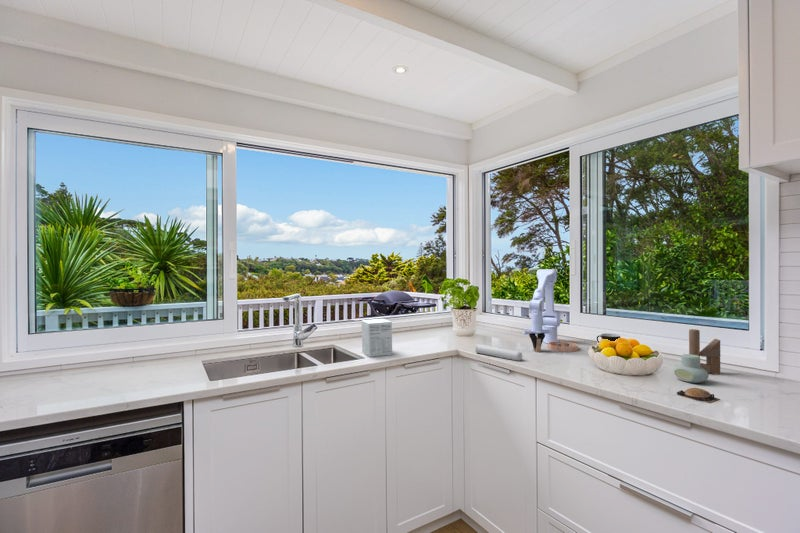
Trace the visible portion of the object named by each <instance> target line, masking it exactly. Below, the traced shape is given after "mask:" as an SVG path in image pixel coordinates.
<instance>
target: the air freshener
mask: <svg viewBox="0 0 800 533" xmlns="http://www.w3.org/2000/svg"><path fill="white" fill-rule="evenodd" d="M700 363H701V356H700V357H699V356H697V355H692V354H689V353H683V354H681V364H680V365H677V366H675V368H674V370H673V374H674V375H675V377H677V379H679V380H680V381H682V382H685V383H689V384H690V383H691V384H692V383H693V384H698V383H699V384H700V383H703V382H705V381H708V379H709V374H708V372H707V371H706V370H705V369H703V368H701V367H700Z"/></svg>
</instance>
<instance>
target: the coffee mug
mask: <svg viewBox="0 0 800 533" xmlns="http://www.w3.org/2000/svg"><path fill="white" fill-rule="evenodd" d="M599 337H601V340H602V339H608V340H610V341H615V340H616V339H618V338H620V339H621V334H616V333H601V334H600V335H597V336H596V341H597V342H598V344H599V342H600V341H599Z"/></svg>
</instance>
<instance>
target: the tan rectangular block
mask: <svg viewBox="0 0 800 533" xmlns="http://www.w3.org/2000/svg"><path fill="white" fill-rule="evenodd" d="M532 349H533V351H534V352H536V353H541V352H542V345H541V339H540V338H538V337H537V338H536V348H534V347H533V346H532Z"/></svg>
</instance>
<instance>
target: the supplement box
mask: <svg viewBox="0 0 800 533" xmlns="http://www.w3.org/2000/svg"><path fill="white" fill-rule="evenodd" d="M361 349H362V353H363V354H365V355H366V356H367V357H368V358H372V357H383V356H391V355H393V321H391V320H388V319H385V318H374V319H363V320H361Z"/></svg>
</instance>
